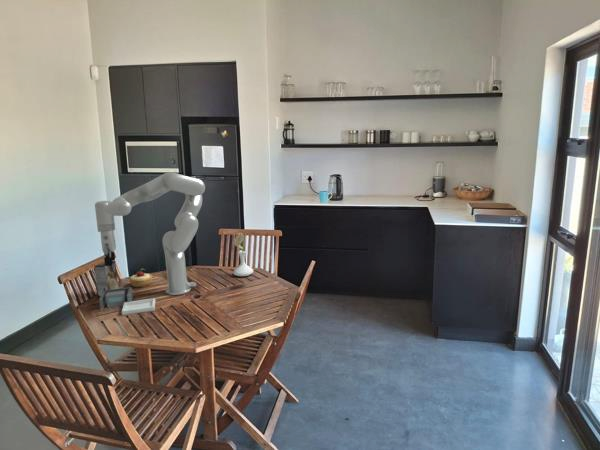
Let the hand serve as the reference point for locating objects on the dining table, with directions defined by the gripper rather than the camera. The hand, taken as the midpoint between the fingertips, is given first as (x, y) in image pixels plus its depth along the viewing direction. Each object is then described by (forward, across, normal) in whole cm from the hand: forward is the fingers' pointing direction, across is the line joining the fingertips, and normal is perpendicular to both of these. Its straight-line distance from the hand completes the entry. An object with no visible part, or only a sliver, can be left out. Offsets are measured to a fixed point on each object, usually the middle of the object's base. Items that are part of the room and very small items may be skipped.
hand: (110, 262), depth 212 cm
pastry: (+21, +27, -11) cm, 36 cm away
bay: (+21, +3, -1) cm, 21 cm away
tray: (+21, -10, -12) cm, 26 cm away
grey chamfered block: (+21, 0, -1) cm, 21 cm away
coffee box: (+21, +20, +5) cm, 30 cm away
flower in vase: (+20, +21, -66) cm, 72 cm away
